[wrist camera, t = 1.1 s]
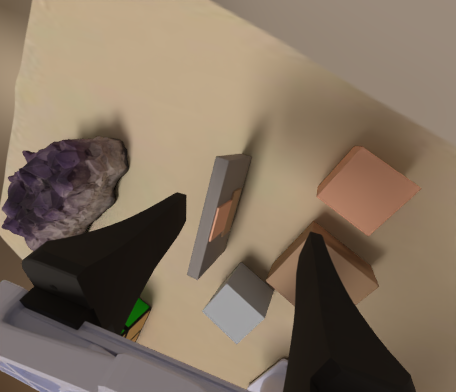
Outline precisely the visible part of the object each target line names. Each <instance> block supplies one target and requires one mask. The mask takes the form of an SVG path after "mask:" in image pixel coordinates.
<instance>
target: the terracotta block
mask: <svg viewBox="0 0 456 392" xmlns="http://www.w3.org/2000/svg"><path fill="white" fill-rule="evenodd" d="M421 189H422V188H420V187H419V186H418V185H416V184H415V183H413V182H412V181H411V180H409V179H408V178H406V177H405V176H403V175H402V174H401V173H399V172H398V171H396V170H395V169H393V168H392V167H391V166H389V165H388V164H386V163H385V162H384V161H382V160H381V159H379V158H378V157H376V156H375V155H374V154H372V153H371V152H369V151H368V150H367V149H365V148H364V147H361V146H354V147H353V148H352V149H351V151H350V152H349V153H348V154H347V155H346V156H345V157H344V158H343V159H342V161H341V162H340V163H339V164H338V165H337V166H336V167H335V168H334V169H333V171H332V172H331V173H330V174H329V175H328V176H327V177H326V178H325V179H324V181H323V182H322V183H321V184H320V185H319V186H318V189H317V197H318V198H319V199H320V200H322V201H323V202H324V203H326V204H327V205H328V206H329V207H331V208H332V209H333V210H335V211H336V212H337V213H338V214H340V215H341V216H342V217H344V218H345V219H346V220H348V221H349V222H350V223H351V224H353V225H354V226H355V227H357V228H358V229H359V230H360V231H362V232H363V233H364V234H366V235H367V236H369V235H371V234H372V233H373V232H374V231H375V230H376V229H377V228H378V227H379V226H381V225H382V224H383V223H384V222H385V221H386V220H387V219H388V218H390V217H391V216H392V215H393V214H394V213H395V212H396V211H397V210H398V209H400V208H401V207H402V206H403V205H404V204H405V203H406V202H407V201H408V200H410V199H411V198H412V197H413V196H414V195H415V194H416V193H417V192H418V191H420V190H421Z"/></svg>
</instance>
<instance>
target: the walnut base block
mask: <svg viewBox="0 0 456 392" xmlns="http://www.w3.org/2000/svg"><path fill="white" fill-rule="evenodd" d="M310 231H311V232H314V233H318V234H321V235H322V236H323V238H324V241H325V244H326V247H327V249H328V252H329V255H330V257H331V259H332V262H333V264H334V266H335V269H336V271H337V273H338V275H339V277H340V279H341V281H342V283H343V285H344V287H345V289H346V291H347V292H348V294H349V296H350V298H351V299H352V301H353V303H354V304H355V305H356V304H357V303H359V302H360V301H361V300H363V299H364V298H365V297H366V296H368V295H369V294H370V293H371V292H373V291H374V290H375V289H377V288H378V287H379V285H378V282H377V280H376V278H375V275H374V273H373V270H372V268H371V266H370V265H369V264H367V263H366V262H365V261H364V260H362V259H361V258H360V257H359V256H357V255H356V254H355V253H354V252H352V251H351V250H350V249H349V248H347V247H346V246H345V245H343V244H342V243H341V242H340V241H338V240H337V239H336V238H335V237H333V236H332V235H331V234H330V233H328V232H327V231H326V230H325V229H323V228H322V227H321V226H319V225H318V224H317V223H316V222H314V221H313V222H312V223H311V224H310V225H309V226H308V227H307V228H306V229H305V230H304V232H303V233H302V234H301V235H300V236H299V237H298V238H297V239H296V240H295V241H294V242H293V243H292V244H291V245H290V246H289V247H288V248H287V249H286V251H285V252H284V253H283V254H282V255H281V256H280V257H279V258H278V259H277V260H276V261H275V262H274V263H273V264H272V267H271V269H270V272H269V274H268V277H267V279H266V282H267V283H269V284H270V285H271V286H272V287H273V288H274V289H275V290H277V291H278V292H279V293H280V294H281V295H282V296H283V297H285V298H286V299H287V300H288V301H289V302H290V303H291V304H293V305H294V306H295V289H296V271H297V264H298V258H299V255H300V252H301V250H302V248H303V246H304V244H305V241H306V239H307V237H308V235H309V233H310Z"/></svg>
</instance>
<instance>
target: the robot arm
mask: <svg viewBox="0 0 456 392" xmlns="http://www.w3.org/2000/svg"><path fill="white" fill-rule="evenodd" d="M185 222H186V195H184V194H181V193H178V192H177V193H175V194H173V195H171V196H169V197H168V198H166V199H164V200H163V201H161V202H159V203H157V204H156V205H154V206H152V207H150V208H148V209H146V210H144V211H142V212H140V213H138V214H136V215H134V216H132V217H130V218H128V219H125V220H123V221H121V222H118V223H115V224H113V225H110V226H107V227H104V228H101V229H98V230H94V231H91V232H87V233H84V234H79V235H75V236H71V237H66V238H61V239H55V240H50V241H46V242H45V243H44V244H42V245H41V246H40V247H39V248H37V249H36V250H35V251H34V252H32V253H31V254H30V255H28V256H27V257H26V258H25V259H23V261H22V267H23V270H24V271H25V273H26V274H27V276H28V277H29V279H30V280H31V282H32V283H33V285H34V288H32V289H31V290H30V291H27V290H26V289H25V288H23V287H21V286H18V285H16V284H14V283H12V282H9V281H7V280H3V281H1V282H0V370H1V371H3V372H5V373H7V374H9V375H11V376H13V377H14V378H16V379H18V380H20V381H22V382H23V383H25V384H27V385H29V386H31V387H33V388H34V389H36V390H38V391H40V392H416V390H415V387H414V384H413V381H412V378H411V375H410V374H409V373H408V372H407V371H406V370H405V368H404V367H403V366H402V365H401V364H400V363H399V362H398V361H397V359H396V358H395V357H394V356H393V355H392V354H391V353H390V352H389V350H388V349H387V348H386V347H385V345H384V344H383V343H382V342H381V341H380V339H379V338H378V337H377V336H376V334H375V333H374V332H373V330H372V329H371V328H370V326H369V325H368V323H367V322H366V321H365V319H364V318H363V316H362V315H361V314H360V312H359V310H358V309H357V307H356V306H355V304H354V303H353V301H352V299H351V298H350V296H349V294H348V292H347V291H346V289H345V287H344V285H343V283H342V281H341V279H340V277H339V275H338V273H337V271H336V269H335V266H334V264H333V262H332V259H331V257H330V255H329V252H328V249H327V247H326V244H325V241H324V238H323V236H322V235H321V234H318V233H314V232H311V231H310V233H309V235H308V237H307V239H306V241H305V244H304V246H303V248H302V250H301V252H300V255H299V258H298V264H297V271H296V289H295V314H294V324H293V331H292V339H291V345H290V352H289V358H288V360H286V359H281V360H280V361H279V362H277V363H276V364H275V365H274V366H272V367H271V368H270V369H269V370H267V371H266V372H265V373H263V374H262V375H261V376H260V377H258V378H257V379H256V380H255V381H253V382H252V383H251V384H250V385H248V388H247V390H246V389H244V388H241V387H239V386H237V385H234V384H232V383H230V382H227V381H225V380H223V379H220V378H218V377H216V376H213V375H211V374H209V373H206V372H204V371H202V370H199V369H197V368H194V367H192V366H190V365H187V364H185V363H183V362H180V361H178V360H176V359H173V358H171V357H169V356H166V355H164V354H162V353H159V352H157V351H155V350H152V349H150V348H148V347H145V346H143V345H140V344H138V343H136V342H133V341H131V340H129V339H126V338H124V337H122V336H120V335H121V333H122V330H123V328H124V326H125V324H126V322H127V320H128V318H129V316H130V314H131V312H132V310H133V308H134V306H135V304H136V302H137V300H138V298H139V296H140V294H141V292H142V291H143V289H144V287H145V285H146V283H147V281H148V280H149V278H150V276H151V274H152V273H153V271H154V269H155V268H156V266H157V265H158V263H159V262H160V260H161V259H162V257H163V256H164V255H165V253H166V252H167V250H168V249H169V248H170V246H171V245H172V243H173V242H174V241H175V239H176V238H177V236H178V235H179V233H180V231H181V229H182V228H183V226H184V224H185Z"/></svg>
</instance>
